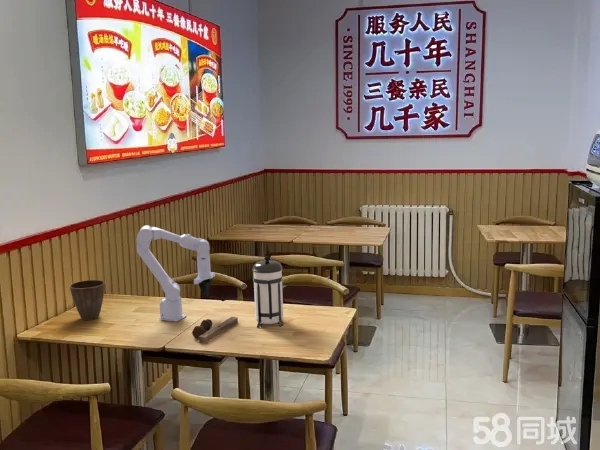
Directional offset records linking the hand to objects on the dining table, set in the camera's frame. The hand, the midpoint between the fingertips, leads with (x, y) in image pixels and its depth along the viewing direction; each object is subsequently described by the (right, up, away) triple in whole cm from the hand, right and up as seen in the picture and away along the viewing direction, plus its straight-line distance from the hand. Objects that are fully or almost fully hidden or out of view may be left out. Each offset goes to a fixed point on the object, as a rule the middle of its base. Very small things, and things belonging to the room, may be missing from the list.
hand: (205, 295), depth 265 cm
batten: (+9, -13, -21) cm, 26 cm away
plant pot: (-54, -11, +4) cm, 55 cm away
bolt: (+3, -13, -20) cm, 24 cm away
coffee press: (+30, -11, -12) cm, 34 cm away
